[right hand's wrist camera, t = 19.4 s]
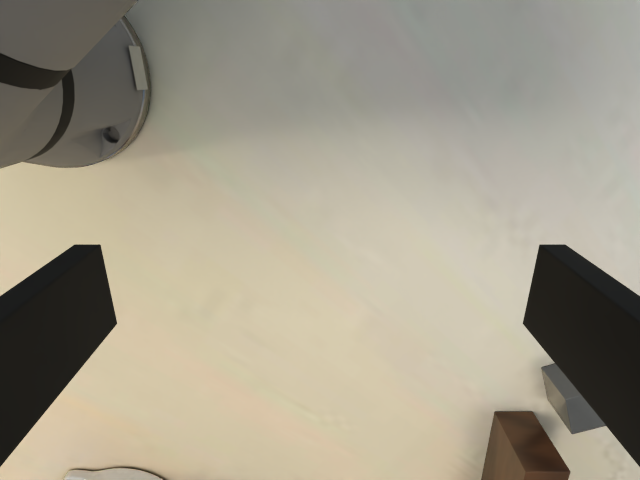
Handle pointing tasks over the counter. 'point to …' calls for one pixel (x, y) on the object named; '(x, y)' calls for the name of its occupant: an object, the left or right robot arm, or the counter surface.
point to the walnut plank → (521, 450)
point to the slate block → (569, 401)
